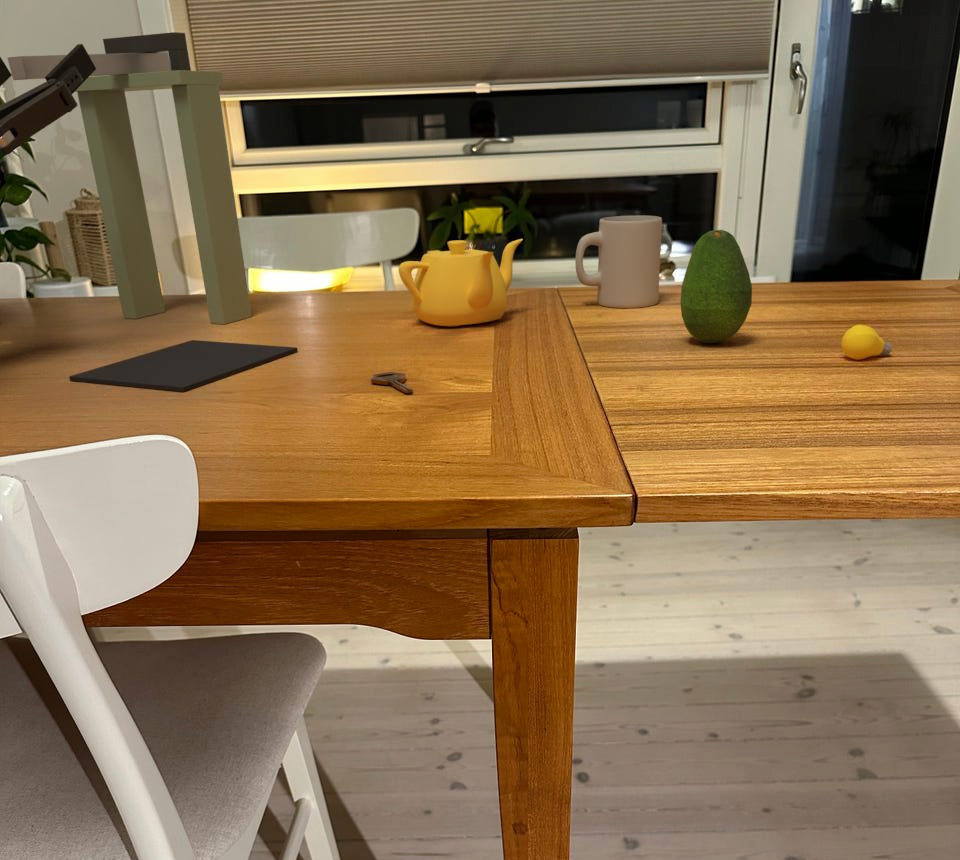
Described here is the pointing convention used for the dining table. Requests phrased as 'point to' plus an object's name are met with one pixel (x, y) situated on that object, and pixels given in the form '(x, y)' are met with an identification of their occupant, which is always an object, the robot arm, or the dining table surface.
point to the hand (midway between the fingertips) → (43, 60)
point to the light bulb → (864, 343)
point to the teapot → (459, 284)
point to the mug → (624, 261)
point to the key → (392, 380)
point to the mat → (184, 365)
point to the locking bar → (103, 62)
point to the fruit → (715, 288)
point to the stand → (203, 173)
